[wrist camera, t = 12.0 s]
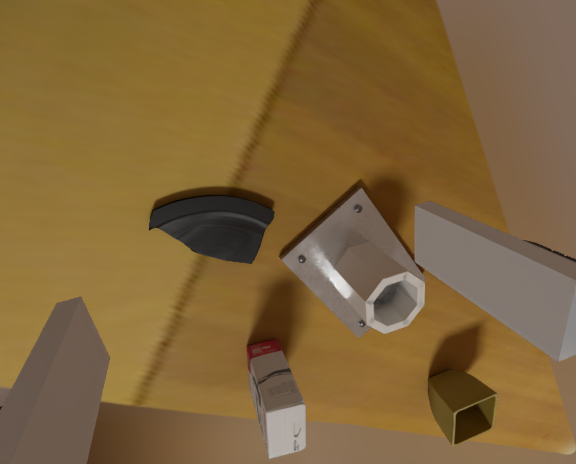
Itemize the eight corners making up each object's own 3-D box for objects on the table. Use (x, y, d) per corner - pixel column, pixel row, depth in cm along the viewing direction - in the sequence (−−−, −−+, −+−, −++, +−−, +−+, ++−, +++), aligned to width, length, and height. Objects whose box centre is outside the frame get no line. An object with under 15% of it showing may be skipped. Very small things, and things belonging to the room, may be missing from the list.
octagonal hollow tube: (336, 301, 51) (367, 340, 43) (331, 252, 48) (364, 284, 40) (385, 285, 53) (424, 320, 45) (384, 237, 49) (425, 265, 41)
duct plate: (279, 256, 47) (296, 282, 40) (357, 185, 46) (387, 200, 40) (355, 334, 56) (379, 364, 50) (421, 275, 56) (453, 299, 49)
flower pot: (419, 372, 64) (454, 412, 56) (459, 356, 66) (499, 393, 58) (419, 406, 68) (452, 448, 60) (457, 390, 70) (494, 428, 62)
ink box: (245, 344, 50) (265, 411, 40) (278, 337, 51) (305, 400, 41) (249, 390, 53) (268, 463, 43) (279, 382, 55) (306, 451, 44)
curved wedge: (163, 170, 39) (163, 173, 37) (273, 205, 44) (276, 209, 43) (142, 237, 41) (141, 242, 39) (250, 263, 46) (253, 269, 45)
